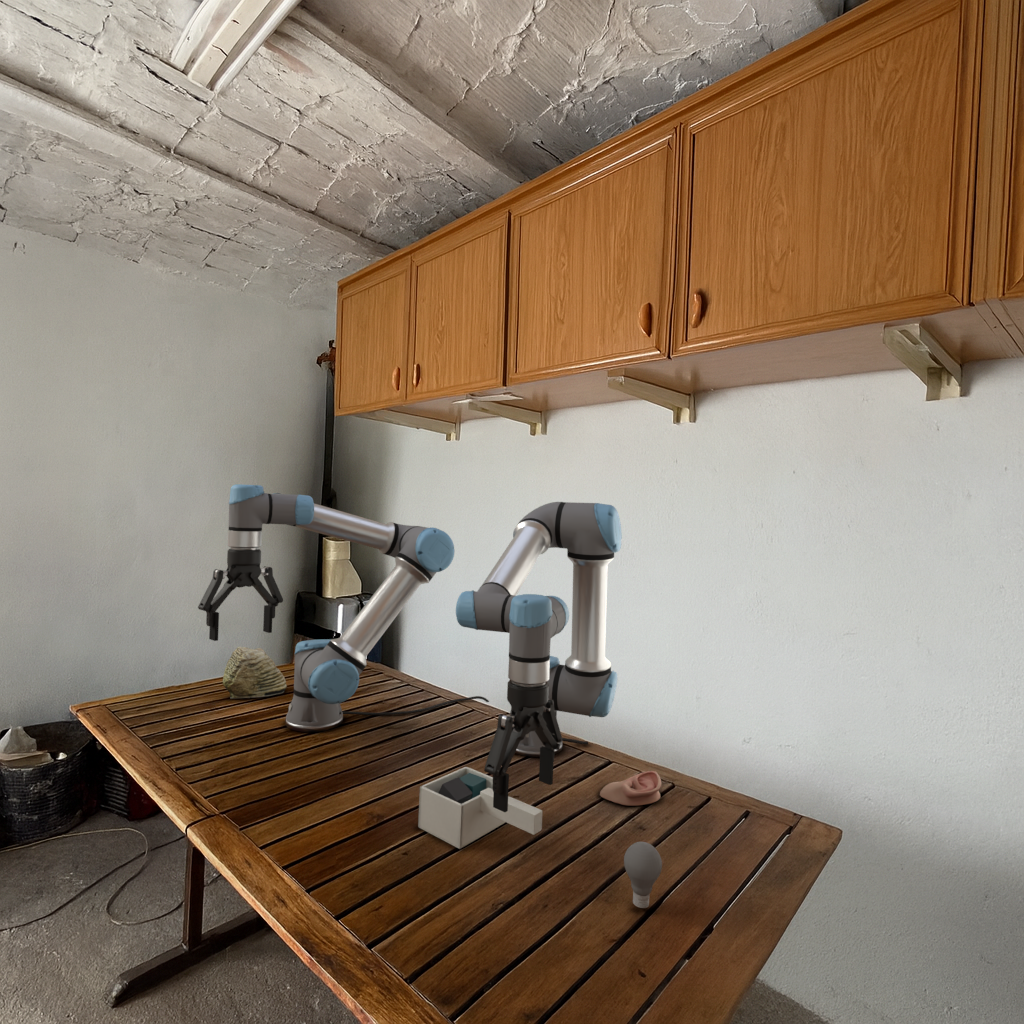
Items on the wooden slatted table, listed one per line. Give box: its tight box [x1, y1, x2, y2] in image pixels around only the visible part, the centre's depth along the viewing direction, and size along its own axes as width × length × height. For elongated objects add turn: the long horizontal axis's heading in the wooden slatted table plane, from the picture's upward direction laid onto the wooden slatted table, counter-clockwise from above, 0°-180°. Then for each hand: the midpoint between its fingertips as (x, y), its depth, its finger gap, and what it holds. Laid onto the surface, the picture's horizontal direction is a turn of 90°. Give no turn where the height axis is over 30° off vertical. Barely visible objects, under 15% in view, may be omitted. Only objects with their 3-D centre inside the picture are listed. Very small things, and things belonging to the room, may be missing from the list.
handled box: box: [417, 766, 543, 850], centre depth 121 cm, size 13×24×9 cm, turn 51°
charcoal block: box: [439, 777, 473, 804], centre depth 124 cm, size 4×4×7 cm
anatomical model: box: [599, 770, 662, 806], centre depth 141 cm, size 13×4×12 cm
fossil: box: [222, 646, 288, 699], centre depth 198 cm, size 9×18×15 cm, turn 132°
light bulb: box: [623, 841, 663, 909], centre depth 102 cm, size 6×6×10 cm
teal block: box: [460, 773, 486, 799], centre depth 128 cm, size 4×4×7 cm
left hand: (241, 635), depth 153 cm, fingers open, 13 cm apart
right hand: (524, 795), depth 116 cm, fingers open, 13 cm apart
